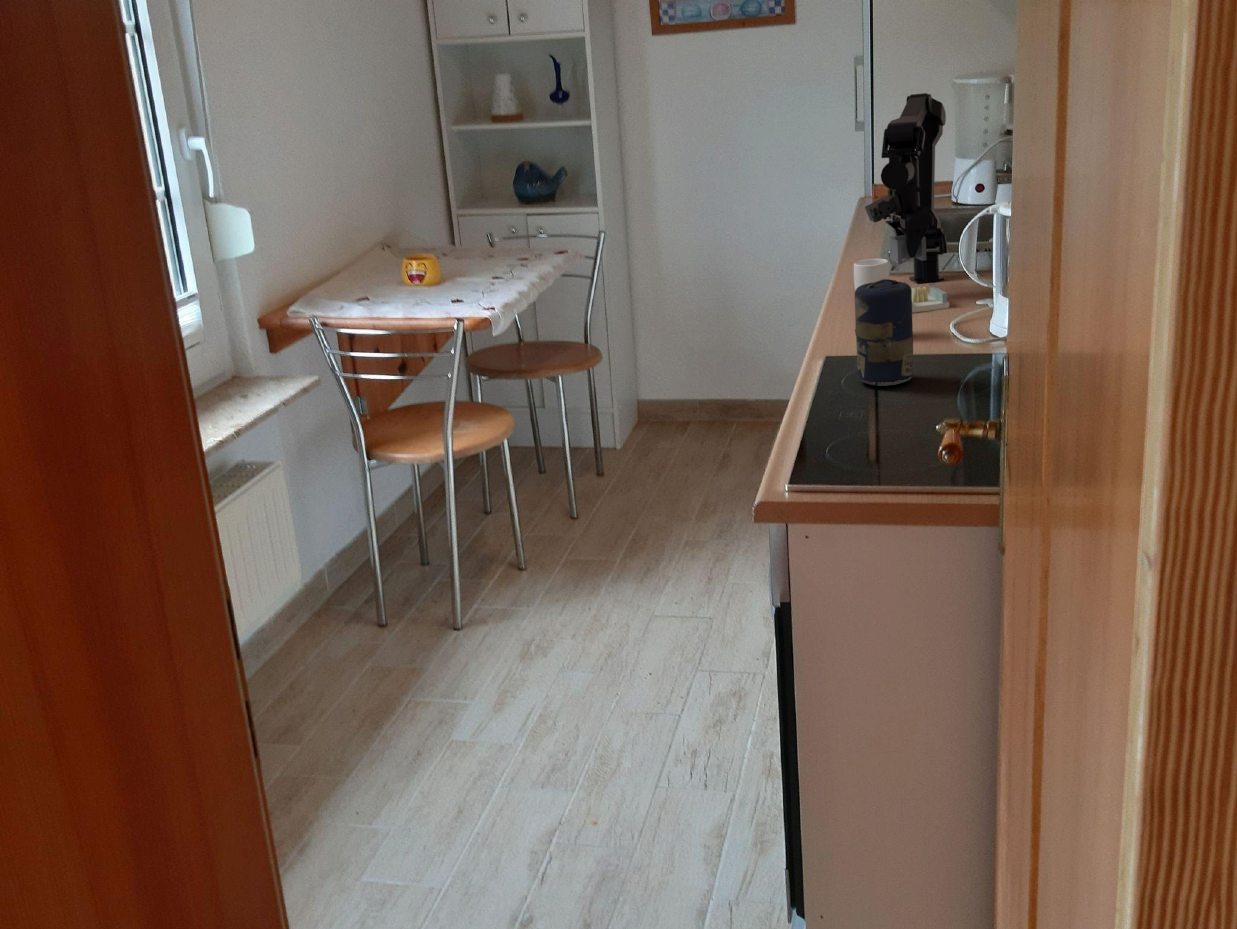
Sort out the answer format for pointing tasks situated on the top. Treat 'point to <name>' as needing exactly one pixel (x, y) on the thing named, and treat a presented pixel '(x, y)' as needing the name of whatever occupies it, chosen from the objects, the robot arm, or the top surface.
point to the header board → (928, 299)
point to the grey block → (905, 249)
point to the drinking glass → (870, 271)
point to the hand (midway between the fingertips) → (907, 255)
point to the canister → (884, 331)
